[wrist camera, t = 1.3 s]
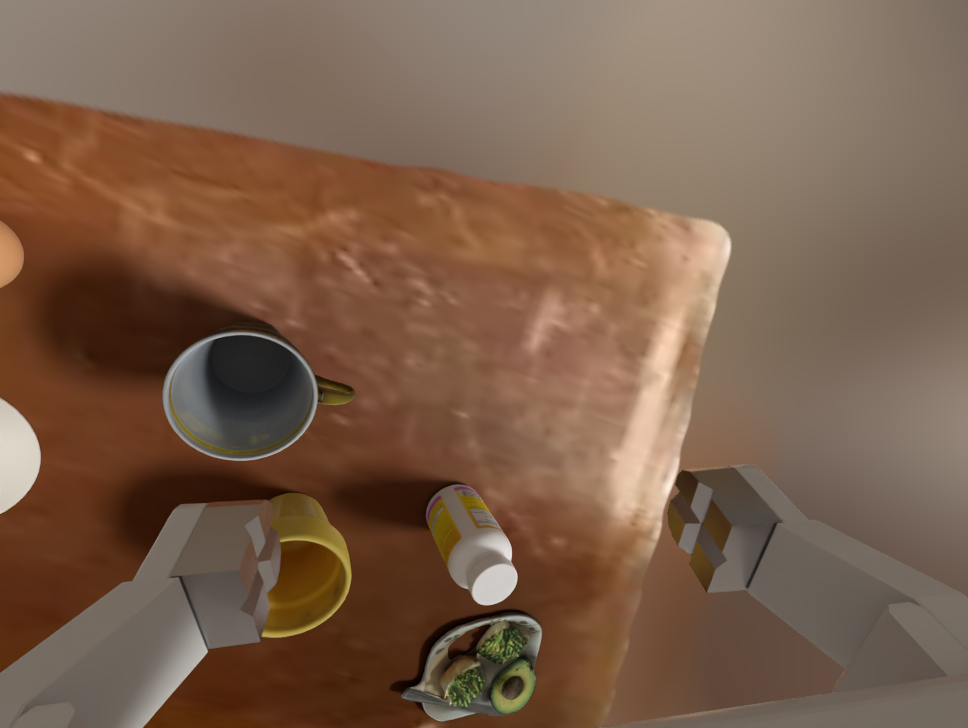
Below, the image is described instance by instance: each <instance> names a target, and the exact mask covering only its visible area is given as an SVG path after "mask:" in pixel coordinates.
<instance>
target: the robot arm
mask: <svg viewBox="0 0 968 728" xmlns="http://www.w3.org/2000/svg"><path fill="white" fill-rule="evenodd" d="M675 485H676V487H677V488H678V490H679V493H678V494H677V495H676V496H675V497H674V498H673V499H671V501H670V504H669V508H668V523H669V528H670V530H671V534H672V536H673V538H674V540H675V541H676V543H677V545H678V546H679V547H680V548H682V549H683V550H685V551H686V552H688V553H689V554H691V557H690V563H689V564H690V566H691V568H692V569H693V571H694V573H695V574H696V576H697V578H698V579H699V581H700V582H701V584H702V586H703V587H704V589H705V591H706V592H707V593H711V592H723V591H736V590H748V591H747V592H748V593H749V594H750V595H752V596H753V597H754V598H755V599H757V600H758V601H759V602H761V603H762V604H763V605H764V606H766V607H767V608H768V609H769V610H771V611H772V612H773V613H774V614H776V615H777V616H778V617H780V618H781V619H782V620H783V621H785V622H786V623H787V624H788V625H790V626H791V627H792V628H794V629H795V630H796V631H797V632H799V633H800V634H801V635H803V636H804V637H805V638H806V639H807V640H809V641H810V642H811V643H813V644H814V645H815V646H816V647H818V648H819V649H820V650H821V651H823V652H824V653H825V654H827V655H828V656H829V657H830V658H832V659H833V660H834V661H835V662H837V663H838V664H839V665H841V666H842V667H843V668H844V669H845V671H844V672H843V674H842V675H841V677H840V678H839V680H838V681H837V683H836V684H835V686H834V690H833V693H829V694H822V695H816V696H809V697H802V698H795V699H788V700H781V701H774V702H768V703H761V704H754V705H747V706H740V707H733V708H726V709H719V710H712V711H705V712H699V713H692V714H685V715H678V716H671V717H664V718H657V719H650V720H644V721H637V722H630V723H623V724H616V725H609V726H602V727H595V728H968V598H967V597H966V596H965V595H963V594H962V593H960V592H958V591H956V590H954V589H952V588H950V587H948V586H946V585H944V584H942V583H940V582H938V581H936V580H934V579H932V578H930V577H928V576H926V575H924V574H922V573H920V572H918V571H917V570H915V569H913V568H910V567H909V566H907V565H905V564H903V563H901V562H899V561H897V560H895V559H893V558H891V557H889V556H887V555H885V554H883V553H881V552H879V551H877V550H875V549H873V548H871V547H869V546H867V545H865V544H863V543H861V542H859V541H857V540H855V539H853V538H851V537H849V536H847V535H845V534H843V533H841V532H839V531H837V530H835V529H833V528H831V527H829V526H827V525H825V524H823V523H821V522H819V521H817V520H808V519H807V518H806V517H805V516H804V515H803V514H802V513H801V511H799V509H798V508H797V507H796V506H795V505H794V504H793V503H792V502H791V501H790V500H789V499H788V498H787V497H786V496H785V495H784V494H783V493H782V492H781V491H780V490H779V489H778V488H777V487H776V485H775V484H774V483H773V482H771V480H770V479H769V478H768V477H767V476H766V475H765V474H764V473H763V472H762V471H761V470H760V469H759V468H758V467H756V466H754V465H752V464H744V465H732V466H727V467H725V466H723V467H711V468H698V469H685V470H682V471H681V472H680V473H679V474H678V477H677V480H676V483H675ZM273 517H274V512H273V509H272V505H271V502H270V501H268V500H246V501H226V502H210V503H197V504H180V505H179V506H178V507H176V508H175V509H174V510H173V511H172V513H171V515H170V516H169V518H168V520H167V522H166V523H165V525H164V527H163V529H162V530H161V532H160V534H159V536H158V537H157V539H156V541H155V543H154V544H153V546H152V548H151V550H150V551H149V553H148V555H147V557H146V558H145V560H144V562H143V564H142V565H141V567H140V569H139V571H138V572H137V574H136V576H135V578H134V579H133V581H131V582H123V583H121V584H120V585H118V586H117V587H116V588H114V589H113V590H112V591H110V592H109V593H108V594H106V595H105V596H104V597H102V598H101V599H100V600H98V601H97V602H95V603H94V604H93V605H91V606H90V607H89V608H87V609H86V610H85V611H83V612H82V613H81V614H79V615H78V616H77V617H75V618H74V619H73V620H71V621H70V622H68V623H67V624H66V625H64V626H63V627H62V628H60V629H59V630H58V631H56V632H55V633H54V634H52V635H51V636H50V637H48V638H47V639H45V640H44V641H43V642H41V643H40V644H39V645H37V646H36V647H35V648H33V649H32V650H31V651H29V652H28V653H27V654H25V655H24V656H22V657H21V658H20V659H18V660H17V661H16V662H14V663H13V664H12V665H10V666H9V667H8V668H6V669H5V670H4V671H2V672H1V673H0V728H143V727H144V726H145V724H146V723H147V722H148V721H149V720H150V719H151V717H152V716H153V715H154V714H155V713H156V712H157V710H158V709H159V708H160V707H161V706H162V705H163V703H164V702H165V701H166V700H167V699H168V698H169V696H170V695H171V694H172V693H173V692H174V691H175V690H176V688H177V687H178V686H179V685H180V684H181V683H182V681H183V680H184V679H185V678H186V677H187V676H188V674H189V673H190V672H191V671H192V670H193V669H194V667H195V666H196V665H197V664H198V663H199V662H200V661H201V659H202V658H203V657H204V656H205V655H206V654H207V652H208V650H207V649H210V648H218V647H225V646H232V645H240V644H247V643H254V642H260V641H261V638H262V634H263V630H264V627H265V623H266V619H267V616H268V612H269V608H270V604H269V600H268V596H267V592H268V591H270V590H271V589H272V588H273V587H274V586H275V585H276V582H277V578H278V574H279V570H280V560H281V545H280V538H279V533H278V532H277V531H276V530H275V529H273V528H272V527H271V523H272V520H273Z"/></svg>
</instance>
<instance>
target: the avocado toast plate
mask: <svg viewBox="0 0 968 728" xmlns="http://www.w3.org/2000/svg"><path fill="white" fill-rule="evenodd" d="M487 624H490V625H491V626H490V627H489V628H488V629H487V630H486V632H485V633H484V634H483V636H482V637H481V639H480V640H479V642H478V644H477V646H476V647H475V648H474V649H473V650H471V651H470V652H468V653H467V654H465V655H458V656H457V657H455V658H454V659H452V660H451V659H449V658H448V647H449V646H450V644H451V643H452V642H453V641H455V640H456V639H457V638H458V637H460V636H461V635H463V634H464V633H466V632H468V631H470V630H472V629H474V628H476V627H479V626H483V625H487ZM541 637H542V627H541V625H540V623H539V622H538V621H537V620H536V619H535V618H534V617H532V616H531V615H529V614H526V613H523V612H504V613H501V614H499V615H495V616H490V617H485V618H481V619H477V620H474V621H472V622H469V623H466V624H463V625H459V626H457V627H455V628H453V629H452V630H450V631H448V632H447V633H446V634H444V635H443V636H442V637H441V638H440V639H439V640H438V641H437V642H436V643H435V644H434V645H433V646H432V648H431V650H430V652H429V655H428V658H427V661H426V664H425V671H424V674H423V677H422V680H421V681H420V683H419V684H418V685H416V686H413V687H409V688H406V689H405V690H404V691H403V692H402V694H401V696H402V698H403V699H405V700H410V701H416V702H421V703H422V706H423V708H424V710H425V712H426V713H427V714H428V715H429V716H431V717H432V718H434V719H436V720H438V721H446V720H451V719H455V718H459V717H463V716H466V715H470V714H474V713H481V714H483V713H485V714H486V715H489V716H504V715H506V714H512V713H515V712H517V711H519V710H520V709H522V708H523V707H524V706H525V705H526V703H527V702H528V701H529V699H530V698H531V696H532V694H533V691H534V688H535V684H536V679H537V678H536V674H535V668H534V667H535V662H536V658H537V653H538V651H539V646H540V643H541Z"/></svg>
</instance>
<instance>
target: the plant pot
mask: <svg viewBox="0 0 968 728" xmlns="http://www.w3.org/2000/svg"><path fill="white" fill-rule="evenodd" d="M269 501H270V502H271V505H272V509H273V512H274V517H273V520H272V523H271V527H272V528H273V529H275V530H276V531H277V532H278V533H279V538H280V545H281V560H280V570H279V574H278V578H277V582H276V585H275V586H274V587H273V588H272V589H271V590H270V591H268V592H267V596H268V600H269V604H270V608H269V612H268V616H267V619H266V623H265V627H264V630H263V634H262V637H286V636H292V635H296V634H299V633H302V632H305V631H308V630H310V629H312V628H314V627H316V626H318V625H319V624H321V623H322V622H324V621H325V620H327V619H328V618H329V617H330V616H331V615H332V614H333V613H335V611H336V610H337V609H338V608H339V607H340V606H341V604H342V603H343V601H344V600H345V598H346V596H347V594H348V591H349V588H350V583H351V566H350V559H349V554H348V550H347V546H346V543H345V541H344V539H343V537H342V536H341V534H340V533H339V532H338V531H337V530H336V529H335V528H334V527H333V526H332V525H330V523H329V521H328V519H327V517H326V515H325V513H324V511H323V509H322V507H321V506H320V504H319V503H318V502H317V501H316V500H315V499H313V498H312V497H310V496H308V495H305V494H301V493H286V494H282V495H279V496H276V497H274V498H272V499H270V500H269Z"/></svg>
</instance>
